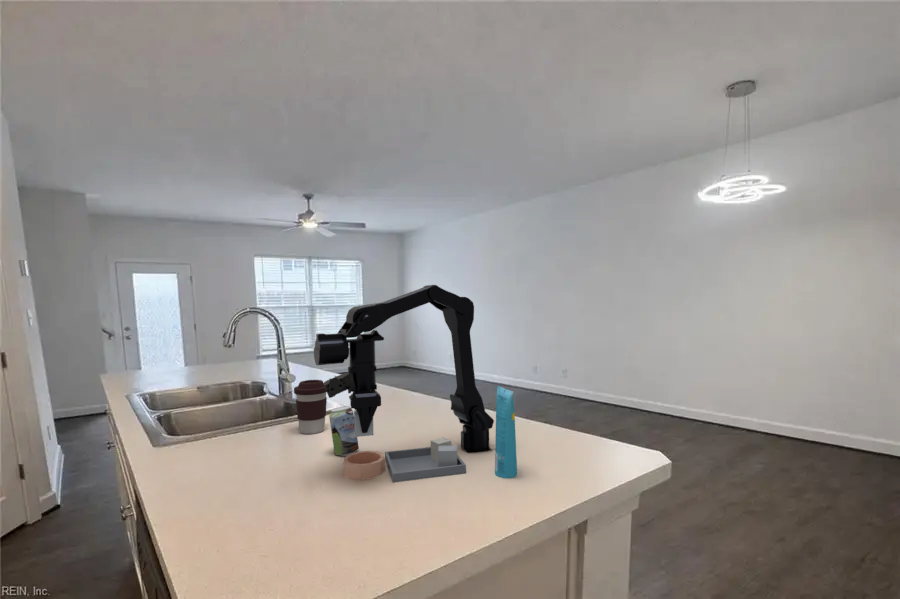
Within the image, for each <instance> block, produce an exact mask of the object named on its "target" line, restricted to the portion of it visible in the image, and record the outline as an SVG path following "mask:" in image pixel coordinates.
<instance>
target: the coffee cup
mask: <svg viewBox="0 0 900 599" xmlns="http://www.w3.org/2000/svg"><path fill="white" fill-rule="evenodd" d="M293 394H294V395H295V397H296V399H295V404H296V415H297V416H296V418H297V421H298V429H299V430H298V431H299V433H300V434H302V435H314V434H319V433H321V432H324V431H325V427H326V426H325V424H326V416H327V403H328V402H327V400H328V398H327V392H326V389H325V387H324V381H323V380H322V379H306V380H301V381H300V382H299V383H298V385H297V386H295V387H294V388H293Z"/></svg>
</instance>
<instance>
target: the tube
mask: <svg viewBox="0 0 900 599" xmlns="http://www.w3.org/2000/svg"><path fill="white" fill-rule="evenodd" d="M496 387H497V388H496V401H495V403H496V404H495V405H496V406H495V444H494V445H495V447H494V450H495V451H494V454H495V456H494V463H495V464H494V474H495V476H496V477H498V478H500V479H513V478H516V477H517V476H518V460H517V441H516V440H517V439H516V420H515V419H516V418H515V417H516V416H515V402H514V391H512V390H509V389H507V388H505V387H502V386H499V385H497V386H496Z"/></svg>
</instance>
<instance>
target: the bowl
mask: <svg viewBox="0 0 900 599" xmlns="http://www.w3.org/2000/svg"><path fill="white" fill-rule="evenodd" d="M385 471H386V460H385V453H382V452H379V451H377V450H376V451H375V450H374V451H373V450H372V451H371V450H363V451H356V453H352V454H349V455H347V456H344V457H343V476H344V477H346V478H347V479H351V480H357V481H358V480H359V481H361V480H369V479H375V478H376V477H380V476H381V475H383V474H384V472H385Z"/></svg>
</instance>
